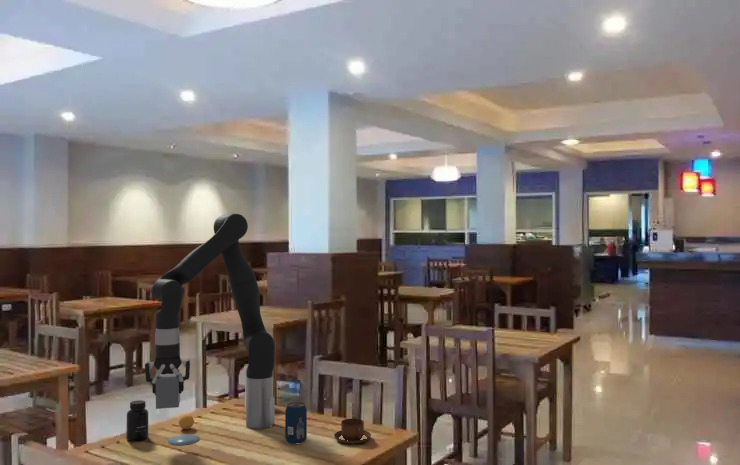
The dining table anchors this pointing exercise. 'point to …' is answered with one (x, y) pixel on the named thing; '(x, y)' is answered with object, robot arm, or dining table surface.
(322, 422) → the dining table surface
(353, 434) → the rectangular block and saucer
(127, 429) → the supplement bottle
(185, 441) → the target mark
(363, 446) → the dining table surface
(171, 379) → the rectangular block
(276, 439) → the dining table surface
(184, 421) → the ball
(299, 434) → the soda can
